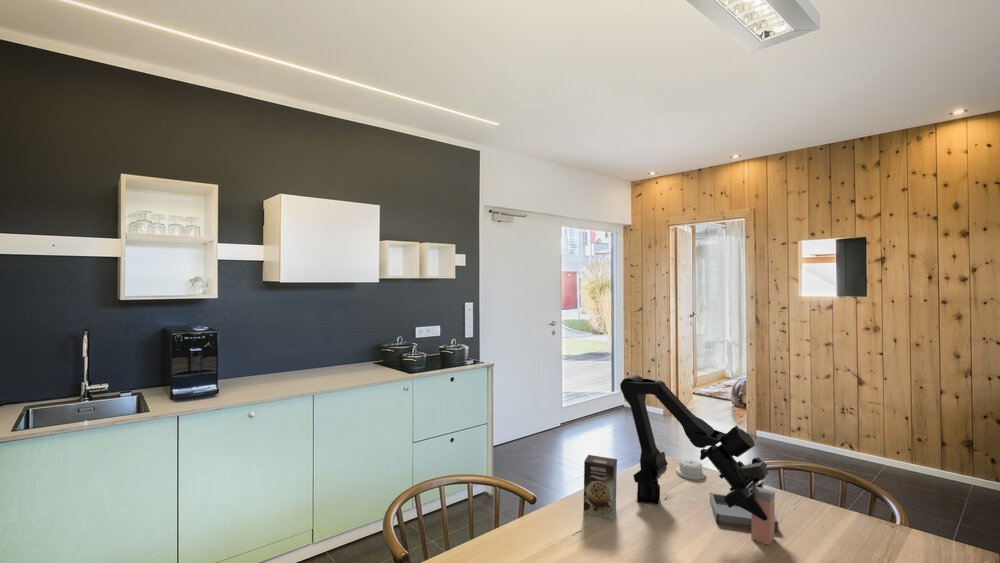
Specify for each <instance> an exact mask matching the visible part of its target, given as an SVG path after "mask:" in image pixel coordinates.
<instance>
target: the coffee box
mask: <svg viewBox="0 0 1000 563" xmlns="http://www.w3.org/2000/svg"><path fill="white" fill-rule="evenodd" d="M583 464H584V466H583V511H582V512H583V515H588V516H592V517H599V518H602V519H603V518H604V519H608V520H611V521H612V520H614V518H615V515H616V512H617V474H618V472H617V470H618V459H617V458H612V457H611V458H610V457H604V456H601V455H599V456H598V455H592V454H588V455H587V456H586V458H585V459H584V463H583Z"/></svg>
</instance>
